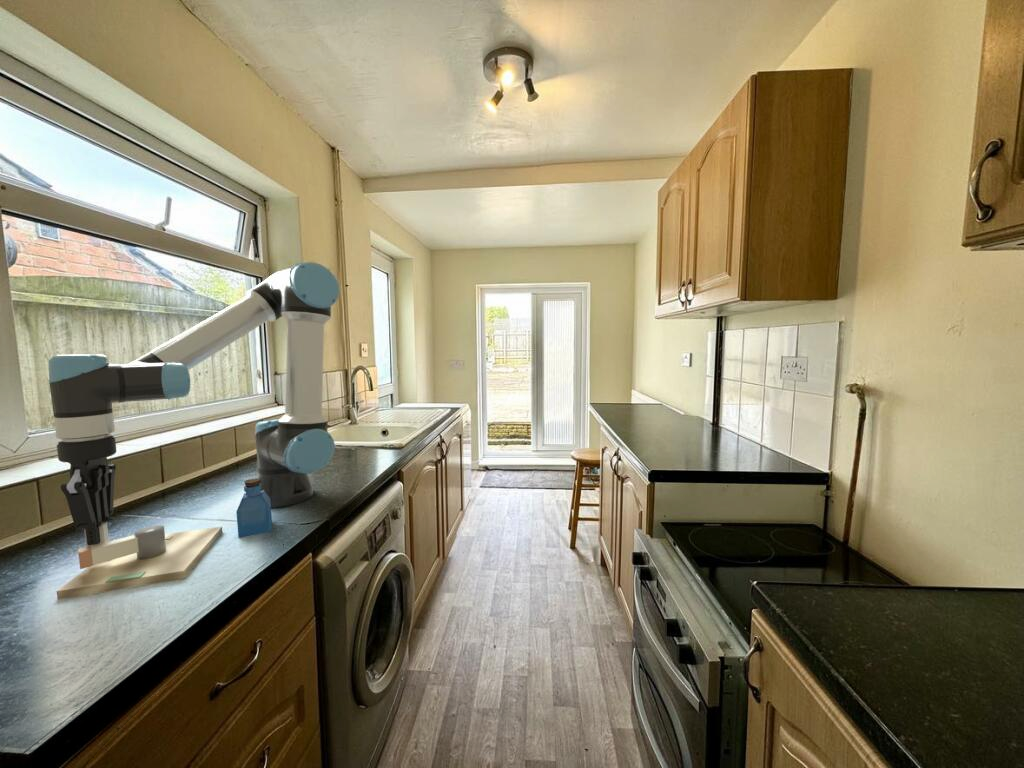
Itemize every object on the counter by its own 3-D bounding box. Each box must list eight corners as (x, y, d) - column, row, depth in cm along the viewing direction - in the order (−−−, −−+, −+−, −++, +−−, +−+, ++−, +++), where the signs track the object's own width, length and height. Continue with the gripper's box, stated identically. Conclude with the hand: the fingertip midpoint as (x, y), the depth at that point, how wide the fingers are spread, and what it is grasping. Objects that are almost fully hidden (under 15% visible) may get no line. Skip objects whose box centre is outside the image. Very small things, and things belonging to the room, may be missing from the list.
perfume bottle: (238, 538, 90) (234, 486, 89) (242, 527, 96) (238, 479, 95) (270, 532, 93) (266, 482, 92) (271, 522, 99) (268, 474, 98)
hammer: (164, 546, 84) (162, 523, 83) (168, 553, 81) (165, 529, 81) (80, 570, 75) (77, 545, 74) (81, 579, 72) (78, 552, 72)
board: (222, 532, 93) (221, 525, 93) (184, 578, 74) (183, 569, 74) (125, 546, 87) (124, 538, 87) (57, 599, 69) (56, 590, 68)
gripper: (80, 432, 79) (92, 546, 81) (34, 447, 67) (50, 580, 69) (129, 429, 82) (139, 539, 84) (93, 442, 70) (107, 570, 72)
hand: (99, 557), depth 77 cm, fingers closed
